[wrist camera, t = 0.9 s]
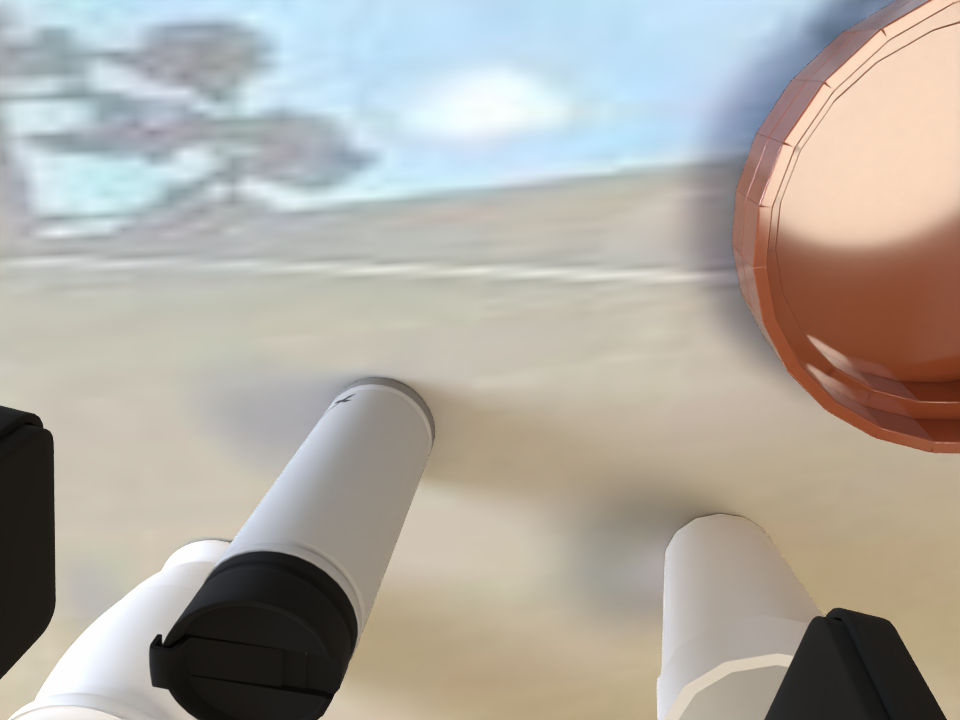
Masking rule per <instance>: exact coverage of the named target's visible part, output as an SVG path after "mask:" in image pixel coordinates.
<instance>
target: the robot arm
mask: <svg viewBox="0 0 960 720" xmlns="http://www.w3.org/2000/svg"><path fill="white" fill-rule="evenodd" d="M55 602H56V595H55V516H54V442H53V436H52V434H51V432H50V431H48V430H47V429H43V423H42V421H41V419H40V417H38V416H37V415H35V414H33V413H29V412H24V411H20V410H16V409H12V408H8V407H4V406H0V679H1V678H2V677H3V676H4V675H5V674H6V673H7V672H8V671H9V670H10V668H11V667H12V666H13V665H14V664H15V663H16V662H17V661H18V660H19V659H20V658H21V657H22V656H23V654H24V653H25V652H26V651H27V650H28V649H29V648H30V647H31V646H32V645H33V644H34V643H35V642H36V640H37V639H38V638H39V637H40V636H41V635H42V634H43V632H44V631H45V630H46V628H47V626H48V625H49V623H50V621H51V618H52V616H53V613H54V609H55ZM764 720H947V719H946V717H945V716H944V714H943V712H942V710H941V708H940V707H939V705H938V703H937V701H936V700H935V698H934V696H933V694H932V693H931V691H930V689H929V687H928V686H927V684H926V682H925V680H924V678H923V677H922V675H921V673H920V671H919V670H918V668H917V666H916V664H915V663H914V661H913V659H912V657H911V655H910V654H909V652H908V650H907V648H906V647H905V645H904V643H903V641H902V640H901V638H900V636H899V634H898V633H897V631H896V629H895V627H894V626H893V625H892V624H891V622H890V621H888V620H886V619H884V618H880V617H876V616H871V615H867V614H863V613H859V612H855V611H851V610H847V609H842V608H834V609H832V610H831V611H830V612H829V613H828V614H827V615H826V617H822V616H816V617H815V618H813V619H812V620H811V622H810V624H809V625H808V627H807V630H806V632H805V634H804V636H803V638H802V640H801V642H800V644H799V647H798V649H797V651H796V653H795V655H794V657H793V659H792V662H791V664H790V666H789V668H788V670H787V672H786V674H785V676H784V679H783V681H782V683H781V685H780V687H779V689H778V691H777V694H776V696H775V698H774V700H773V702H772V704H771V706H770V709H769V711H768V713H767V715H766V717H765V719H764Z"/></svg>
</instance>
